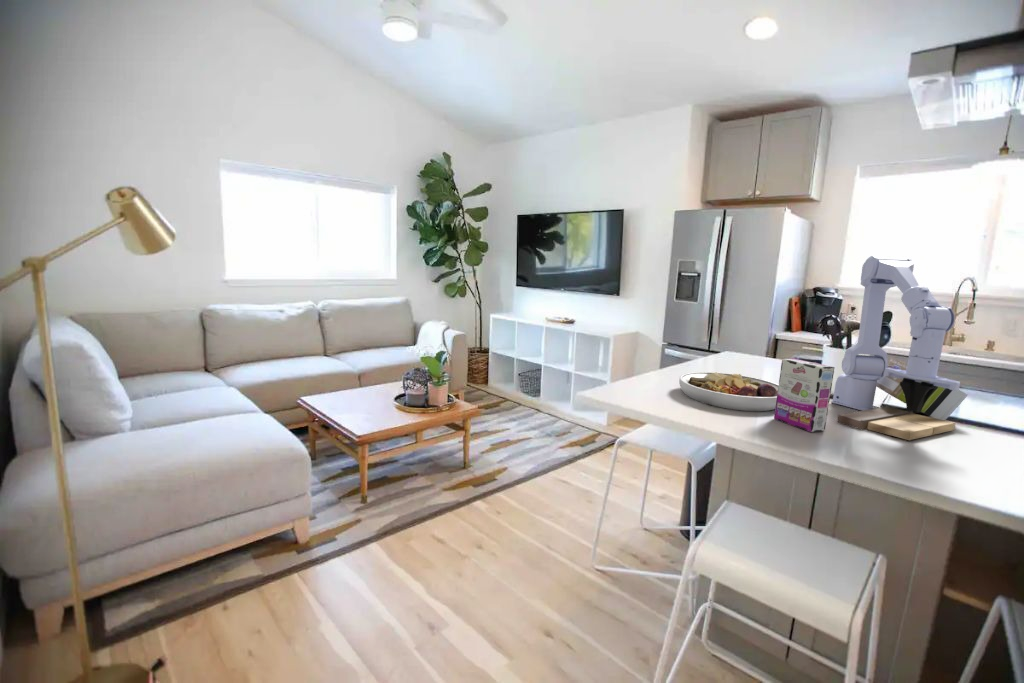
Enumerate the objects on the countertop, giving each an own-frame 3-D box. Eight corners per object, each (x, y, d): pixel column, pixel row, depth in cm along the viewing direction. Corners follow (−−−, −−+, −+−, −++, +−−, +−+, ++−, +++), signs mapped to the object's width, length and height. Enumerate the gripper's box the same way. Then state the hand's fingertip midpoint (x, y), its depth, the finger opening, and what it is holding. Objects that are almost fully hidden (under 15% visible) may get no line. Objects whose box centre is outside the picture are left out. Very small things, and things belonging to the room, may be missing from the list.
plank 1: (867, 429, 122) (868, 422, 121) (890, 424, 126) (891, 417, 126) (909, 440, 114) (910, 432, 113) (932, 434, 118) (933, 427, 118)
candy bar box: (826, 431, 119) (836, 366, 116) (811, 433, 117) (821, 367, 114) (786, 417, 129) (795, 357, 127) (772, 418, 127) (781, 358, 125)
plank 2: (891, 424, 127) (892, 417, 126) (912, 420, 131) (913, 413, 131) (933, 434, 119) (934, 427, 118) (954, 429, 123) (955, 422, 123)
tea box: (917, 409, 144) (868, 382, 147) (941, 382, 141) (891, 355, 144) (942, 424, 130) (888, 394, 133) (970, 394, 127) (914, 364, 130)
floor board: (837, 421, 127) (838, 413, 127) (887, 413, 138) (888, 405, 137) (861, 429, 122) (863, 420, 121) (912, 419, 132) (913, 411, 132)
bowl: (657, 389, 153) (659, 365, 152) (725, 383, 166) (728, 361, 164) (735, 419, 126) (739, 390, 125) (809, 409, 139) (813, 383, 138)
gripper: (881, 351, 120) (871, 404, 122) (953, 364, 107) (941, 422, 109) (896, 350, 123) (887, 401, 125) (969, 362, 110) (957, 419, 112)
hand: (913, 411), depth 117 cm, fingers closed
